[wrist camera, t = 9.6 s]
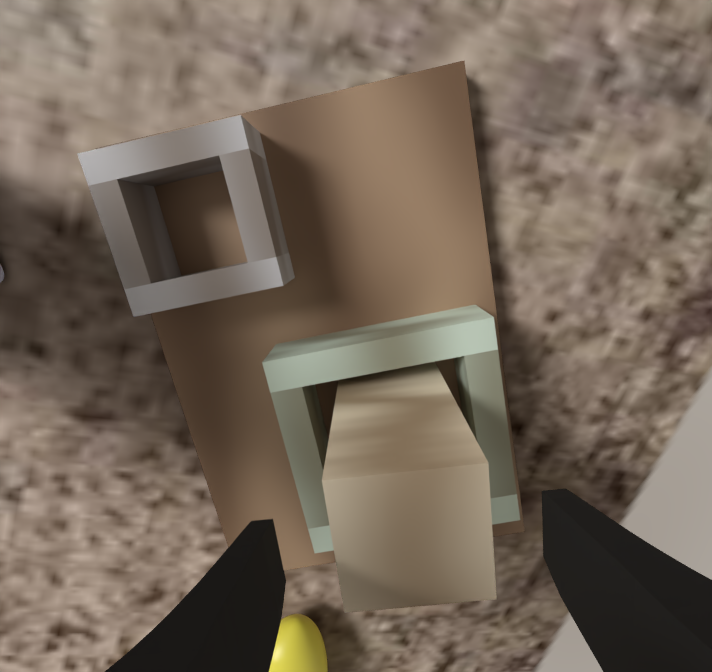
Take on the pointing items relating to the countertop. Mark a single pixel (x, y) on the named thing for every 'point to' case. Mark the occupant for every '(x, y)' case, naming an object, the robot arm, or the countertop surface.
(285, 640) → the lemon
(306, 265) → the socket board
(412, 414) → the peg
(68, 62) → the countertop surface
